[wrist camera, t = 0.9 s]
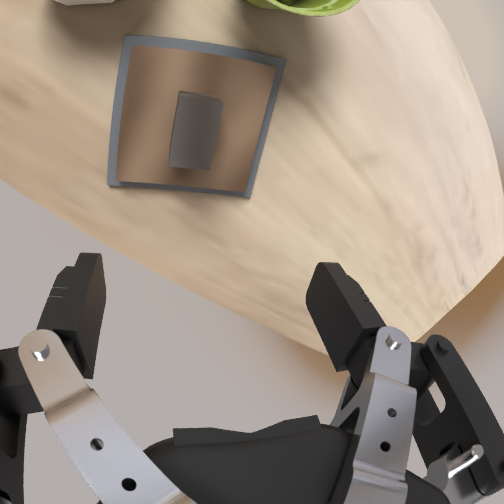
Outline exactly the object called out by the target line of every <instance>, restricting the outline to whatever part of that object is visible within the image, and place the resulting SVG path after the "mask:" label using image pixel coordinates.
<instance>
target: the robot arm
mask: <svg viewBox="0 0 504 504" xmlns="http://www.w3.org/2000/svg"><path fill="white" fill-rule="evenodd" d="M364 293H365V292H364V291H363V289H362V288H361V286H360V285H359V284H358V283H357V282H356V281H355V280H354V279H353V278H351V277H350V276H349V275H347V274H346V273H345V271H344V270H343V268H342V267H341V266H340V264H339V263H331V262H320V263H318V264H317V266H316V268H315V271H314V274H313V277H312V279H311V282H310V285H309V287H308V290H307V293H306V306H307V309H308V311H309V313H310V315H311V317H312V319H313V321H314V324H315V326H316V328H317V330H318V332H319V334H320V336H321V339H322V341H323V343H324V345H325V347H326V350H327V352H328V354H329V356H330V358H331V360H332V363H333V365H334V367H335V369H336V372H339V371H345V370H348V371H349V372H350V375H349V376H348V378H347V380H346V383H345V386H344V390H343V393H342V396H341V399H340V402H339V405H338V408H337V411H336V414H335V416H334V418H333V420H332V422H331V424H330V425H326V424H320V422H319V419H318V416H317V415H314V416H309V417H302V418H296V419H290V420H284V421H282V422H279V423H277V424H274V425H272V426H269V427H267V428H264V429H262V430H259V431H256V432H253V433H244V432H237V431H230V430H223V429H217V428H181V429H180V428H174V429H173V436H174V437H172V438H169V439H165V440H162V441H160V442H157V443H155V444H153V445H151V446H149V447H148V448H146V449H145V450H143V451H142V450H141V449H140V448H139V446H138V445H137V444H136V443H135V442H134V441H133V439H132V438H131V437H130V436H129V435H128V433H127V432H126V431H125V430H124V429H123V427H122V426H121V425H120V423H119V422H118V421H117V420H116V418H115V417H114V416H113V414H112V413H111V412H110V410H109V409H108V408H107V407H106V405H105V404H104V402H103V401H102V399H101V398H100V397H99V395H98V394H97V393H96V392H95V390H94V389H91V388H90V387H89V386H88V384H87V383H86V381H85V380H84V378H85V379H93V374H94V366H95V360H96V352H97V346H98V340H99V335H100V329H101V324H102V319H103V313H104V308H105V303H106V286H105V278H104V271H103V262H102V256H101V254H100V253H80V254H79V256H78V259H77V261H76V264H75V266H74V267H72V266H71V267H70V266H66V267H65V268H64V269H63V270H62V271H61V272H60V273H59V274H58V275H57V277H56V280H55V282H54V284H53V288H52V289H51V292H50V294H49V297H48V299H47V302H46V304H45V307H44V310H43V312H42V315H41V318H40V321H39V323H38V326H37V329H36V330H35V331H32V332H31V333H29V334H27V335H26V336H25V337H24V338H23V339H22V341H21V342H20V345H19V346H18V347H14V348H8V349H2V350H0V504H24V494H23V492H24V491H23V472H24V447H25V434H26V423H27V414H29V413H35V412H42V411H45V417H46V419H47V421H48V423H49V425H50V426H51V428H52V430H53V432H54V433H55V435H56V437H57V439H58V440H59V442H60V444H61V445H62V447H63V448H64V450H65V451H66V453H67V455H68V456H69V458H70V459H71V461H72V462H73V464H74V465H75V467H76V468H77V469H78V471H79V472H80V474H81V475H82V477H83V478H84V479H85V481H86V482H87V483H88V485H89V486H90V487H91V489H92V490H93V491H94V493H95V494H96V495H97V496H98V498H99V499H100V501H99V502H98V503H97V504H474V503H476V502H478V501H480V500H482V499H484V498H486V497H488V496H490V495H492V494H494V493H496V492H497V491H499V490H501V489H503V488H504V434H503V431H502V429H501V428H500V426H499V424H498V422H497V420H496V418H495V416H494V414H493V412H492V410H491V408H490V407H489V405H488V403H487V401H486V399H485V397H484V396H483V394H482V392H481V391H480V389H479V387H478V385H477V384H476V382H475V380H474V379H473V377H472V375H471V373H470V372H469V370H468V368H467V367H466V365H465V364H464V362H463V360H462V359H461V357H460V356H459V354H458V352H457V351H456V349H455V348H454V346H453V345H452V343H451V342H450V341H449V340H448V339H446V338H445V337H443V336H441V335H431V336H430V337H429V338H428V339H427V341H426V342H425V343H424V344H422V343H415V342H410V340H409V338H408V337H407V336H406V335H405V334H404V333H403V332H402V331H401V330H399V329H397V328H394V327H390V326H386V324H385V323H384V321H383V320H382V318H381V317H380V315H379V313H378V312H377V310H376V309H375V307H374V306H373V304H372V303H371V302H369V298H368V297H367V295H366V294H364ZM435 381H436V383H437V385H438V387H439V389H440V391H441V392H442V394H443V396H444V398H445V402H446V405H445V409H444V411H443V412H442V413H440V411H439V409H438V407H437V405H436V403H435V401H434V399H433V397H432V395H431V394H430V392H429V390H428V388H429V387H430V386H431V385H432V384H433V383H434V382H435ZM412 434H413V436H414V439H415V441H416V443H417V446H418V448H419V451H420V453H421V455H422V458H423V460H424V463H425V465H426V468H427V476H425V477H424V478H423V479H422V478H420V477H418V476H416V475H415V474H413V473H412V472H410V471H408V470H407V469H406V467H407V461H408V456H409V450H410V444H411V438H412Z"/></svg>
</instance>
